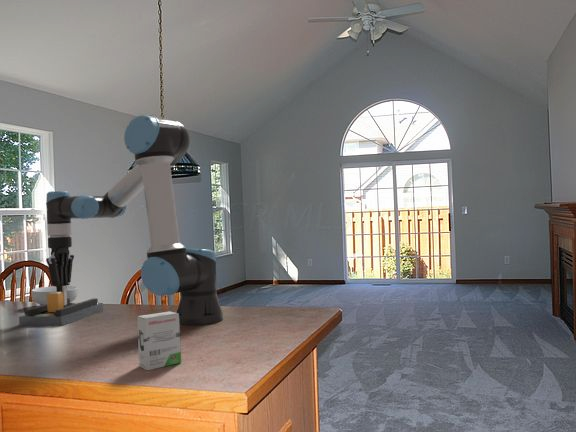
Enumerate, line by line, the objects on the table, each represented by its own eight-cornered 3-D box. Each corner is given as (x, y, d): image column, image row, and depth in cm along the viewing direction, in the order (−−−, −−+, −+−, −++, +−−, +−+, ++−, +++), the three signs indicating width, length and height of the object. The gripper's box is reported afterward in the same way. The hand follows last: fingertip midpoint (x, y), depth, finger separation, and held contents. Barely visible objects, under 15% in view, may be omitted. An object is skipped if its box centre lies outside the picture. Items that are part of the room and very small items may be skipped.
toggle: (63, 310, 186) (63, 291, 186) (58, 311, 183) (57, 293, 183) (53, 310, 187) (52, 291, 187) (47, 311, 184) (47, 293, 184)
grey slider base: (102, 310, 201) (102, 301, 201) (61, 326, 175) (61, 314, 175) (65, 310, 204) (65, 301, 204) (19, 325, 178) (18, 314, 178)
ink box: (172, 359, 132) (171, 310, 132) (182, 363, 128) (180, 312, 128) (138, 366, 127) (136, 315, 126) (146, 371, 123) (144, 318, 122)
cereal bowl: (62, 310, 205) (61, 291, 205) (22, 310, 208) (21, 291, 208) (86, 302, 222) (86, 285, 222) (49, 302, 225) (48, 285, 225)
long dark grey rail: (97, 303, 200) (97, 298, 200) (60, 315, 177) (60, 310, 177) (93, 303, 200) (92, 298, 200) (55, 315, 177) (55, 310, 177)
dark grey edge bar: (70, 303, 202) (69, 298, 202) (29, 315, 179) (29, 310, 179) (65, 303, 202) (65, 298, 202) (25, 315, 179) (24, 310, 179)
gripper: (60, 235, 196) (63, 301, 196) (37, 237, 183) (40, 308, 183) (80, 235, 194) (82, 301, 195) (58, 237, 181) (61, 308, 182)
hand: (62, 304), depth 189 cm, fingers closed
